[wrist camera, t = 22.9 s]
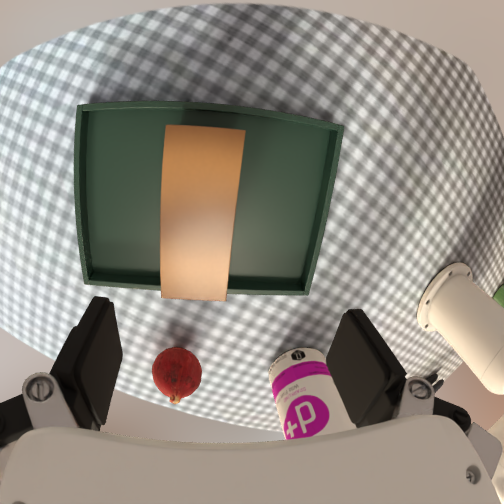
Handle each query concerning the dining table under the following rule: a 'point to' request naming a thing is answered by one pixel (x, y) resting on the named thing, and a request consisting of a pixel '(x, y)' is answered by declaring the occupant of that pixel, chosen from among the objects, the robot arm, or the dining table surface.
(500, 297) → the ramekin
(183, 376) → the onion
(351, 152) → the dining table surface
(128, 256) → the tray
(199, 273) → the tan wooden block
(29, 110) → the dining table surface
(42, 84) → the dining table surface
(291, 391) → the supplement can
